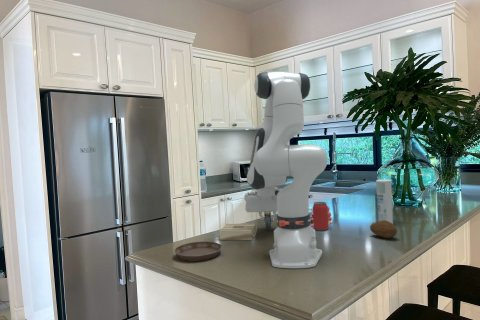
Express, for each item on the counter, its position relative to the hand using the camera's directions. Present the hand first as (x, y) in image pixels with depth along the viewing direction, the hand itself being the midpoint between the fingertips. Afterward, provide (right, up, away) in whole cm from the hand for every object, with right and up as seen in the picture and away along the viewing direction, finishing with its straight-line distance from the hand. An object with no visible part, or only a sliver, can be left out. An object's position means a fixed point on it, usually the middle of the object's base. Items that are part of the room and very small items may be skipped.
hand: (268, 221), depth 166 cm
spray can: (+54, -1, -3) cm, 54 cm away
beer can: (+24, -3, -5) cm, 24 cm away
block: (-13, -5, -7) cm, 16 cm away
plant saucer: (-28, -8, -32) cm, 43 cm away
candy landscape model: (+20, -3, +12) cm, 23 cm away
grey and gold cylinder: (0, -4, 0) cm, 4 cm away
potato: (+44, -3, -25) cm, 51 cm away
